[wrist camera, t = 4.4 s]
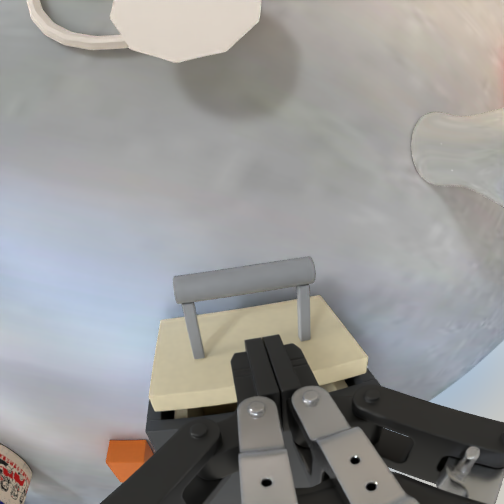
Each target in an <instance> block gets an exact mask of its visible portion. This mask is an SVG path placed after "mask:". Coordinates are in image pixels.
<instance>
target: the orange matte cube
mask: <svg viewBox="0 0 504 504" xmlns="http://www.w3.org/2000/svg"><path fill="white" fill-rule="evenodd" d="M152 455H153V452H152V450H151V448H150V447H149V445H148V443H147V441H146V440H110V442H109V447H108V452H107V458H106V463H107V465H108V466H109V467H110V469H111V470H112V472H113V473H114V474H115V475H116V477H117V478H118V479H119V481H120V482H125V481H126V480H127V479H128V478H129V477H130V476H131V475H132V474H133V473H134V472H135V471H137V470H138V469H139V468H140V467H141V466H142V465H143V464H144V463H145V462H146V461H147V460H148V459H149V458H150V457H151V456H152Z"/></svg>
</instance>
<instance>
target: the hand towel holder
mask: <svg viewBox="0 0 504 504" xmlns="http://www.w3.org/2000/svg"><path fill="white" fill-rule="evenodd" d="M261 1H262V0H114V1H113V5H112V9H111V13H110V19H111V21H112V22H113V24H114V25H115V27H116V28H117V30H118V31H119V33H120V34H121V35H109V36H92V35H86V34H80V33H73V32H71V31H69V30H67V29H65V28H63V27H61V26H59V25H57V24H55V23H54V22H53V21H52V20H51V19H50V18H49V17H48V15H47V14H46V13H45V12H44V11H43V9H42V6H41V2H40V0H27V4H28V8H29V12H30V16H31V19H32V20H33V22H34V23H35V24H36V25H37V26H38V28H39V29H40V30H41V31H42V33H43V34H44V35H46V36H48V37H50V38H52V39H53V40H55V41H57V42H59V43H61V44H63V45H65V46H71V47H77V48H83V49H88V50H102V49H123V48H128V47H129V48H130V50H133V51H137V52H141V53H144V54H148V55H151V56H155V57H158V58H161V59H164V60H168V61H171V62H174V63H179V62H182V61H186V60H191V59H195V58H199V57H203V56H208V55H213V54H217V53H223V52H227V51H228V50H229V49H230V48H231V47H232V46H233V45H234V44H235V43H236V42H237V41H238V40H239V39H240V38H241V37H242V36H244V35H245V34H246V33H247V32H248V31H249V30H250V29H251V28H252V27H253V26H255V25H256V24H257V23H258V22H259V21H260V11H261Z"/></svg>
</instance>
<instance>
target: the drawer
mask: <svg viewBox="0 0 504 504" xmlns="http://www.w3.org/2000/svg"><path fill="white" fill-rule="evenodd" d="M315 277H316V273H315V266H314V263H313V260H312V258H311V257H309V256H308V257H301V258H295V259H288V260H282V261H275V262H269V263H262V264H255V265H249V266H242V267H235V268H228V269H221V270H215V271H208V272H201V273H194V274H187V275H180V276H174V277H173V290H174V295H175V299H176V302H177V304H182V308H183V313H184V317H178V318H171V319H163V320H161V321H160V327H159V332H158V338H157V344H156V350H155V356H154V363H153V369H152V376H151V383H150V390H149V399H150V401H151V404H152V406H153V408H154V411H156V412H157V411H170V410H175V414H174V419H179V418H189V417H199V416H207V415H215V414H222V413H229V412H235V410H236V408H237V397H236V391H235V385H234V380H233V374H232V368H231V362H230V361H231V359H232V357H233V355H234V353H239V352H245V343H244V340H247V339H253V338H260V337H261V338H262V337H265V336H271V335H277V334H279V335H280V337H281V340H282V342H283V344H284V345H285V344H290V343H293V344H295V345H296V346H298V347H299V348H300V349H301V350H302V352H303V354H304V356H305V358H306V360H307V362H308V364H309V366H310V368H311V370H312V372H313V374H314V376H315V378H316V380H317V382H318V384H319V386H320V387H322V388H324V389H325V390H326V391H328V392H332V391H336V390H339V389H343V388H346V387H348V385H347V384H346V382H345V380H344V379H347V378H351V377H354V376H358V375H361V374H365V373H366V371H367V363H368V356H367V355H366V353H365V352H364V351H363V349H362V348H361V347H360V345H359V344H358V343H357V342H356V340H355V339H354V338H353V336H352V335H351V334H350V333H349V331H348V330H347V329H346V327H345V326H344V325H343V324H342V322H341V321H340V320H339V318H338V317H337V316H336V315H335V313H334V312H333V311H332V309H331V308H330V307H329V306H328V304H327V303H326V302H325V301H324V299H323V298H322V297H321V296H320V295H316V296H311V297H310V285H309V284H311V283H314V282H315ZM294 286H296V290H297V299H295V300H289V301H283V302H277V303H271V304H266V305H259V306H253V307H247V308H241V309H234V310H228V311H221V312H214V313H208V314H200V315H197V314H196V309H195V304H194V302H197V301H204V300H211V299H218V298H225V297H231V296H238V295H244V294H251V293H257V292H263V291H270V290H276V289H282V288H288V287H294Z"/></svg>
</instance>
